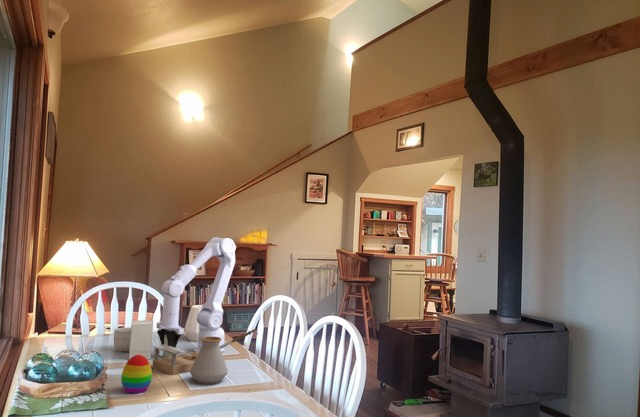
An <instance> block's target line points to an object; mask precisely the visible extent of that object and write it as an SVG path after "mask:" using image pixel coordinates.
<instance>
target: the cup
mask: <svg viewBox="0 0 640 417" xmlns="http://www.w3.org/2000/svg"><path fill="white" fill-rule="evenodd" d="M203 305H204V304H197V305H196V304H195V305H192V306H191V307H190V310H189V313H188V316H187V319H186V323H185V326H184V327H183V328H184V334H185V335H186V337H187V339H188V340H189V341H192V342H199V323H198V322H197V314H198V313H199V312H200V310H201V309H202V306H203Z"/></svg>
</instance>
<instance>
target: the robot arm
mask: <svg viewBox="0 0 640 417" xmlns="http://www.w3.org/2000/svg"><path fill="white" fill-rule="evenodd" d="M236 249H237V246H236V244H235V241H234V240H232V238H230V237H227V238H226V237H225V238H223V237H213V238H211V239H210V241H208V242H207V243H206V244H205V246H204V248H203V249H202V250H201V251H200V252H199V253H198V255H197V256H196V257H195V258H194V259H193V260H192V261H191V262H190V263H189V264H184V265H181V266H180V267H179V270H178V271H177V272H176V273H175V274H174V275H172V276H170V279H168V280H165V281H164V283H163V284H162V286H161V287H160V290H161V293H162V294H163V302H162V305H163V306H162V307H163V308H162V316H161V322H160V321H159V322H156V327H155V328H156V329H160V330H156V333H157V335H158V337H159V340H160V345H164V335H165V334H166V336H167V340H168V346H171V347H174V348H177V345H178V342H179V340H180V338H181V337H182V336H183V335H184V334H185V331H184V328H185V327H182V326H180V325H179V319H180V318H179V317H180V302H181V301H180V300H181V295H183V294H184V290H185V287H186V286H187V285H188V284H189V283H190V282H191V281H192V280H193V279H194V278H195V277H196V276H197V270H199V269H200V268H201V267H202V266H203V265H204V264H205V263H206V262H207V261H208V260H210V258H213V257H216V258H217V259H218V261H219V266H218V269H217V273H216V276H215V279H214V281H213V283H212V288H211V289H210V293H209V296H208V299H207V301H206V302H205V303H203V304H202V305H203V306H202V309H201V310H200V312H199V313H198V314H197V322H198V323H199V341H197V342H198V344H197V345H198V346H197V348H196V349H195V348H194V349H193V350H192V351H193V352H199V351H200V349H201V347H202V341H201V338H202V337H220V338H221V341H220V343H219V346H221V345H223V344H225V330H224V329H223V327H221V326H222V324H223V316H224V309H223V307H222V304H223V300H224V298H225V294H226V291H227V288H228V285H229V282H230V279H231V277H232V276H231V275H232V273H233V270H234V267H235V264H236V253H235V252H236ZM224 348H225V347H223V348H221V349H220V350H221V352H222V353H223V352H225V351H226V350H225V349H224Z"/></svg>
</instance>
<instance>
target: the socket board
mask: <svg viewBox="0 0 640 417" xmlns="http://www.w3.org/2000/svg"><path fill="white" fill-rule="evenodd" d="M153 348H154V359H152V365H151V366H152V367H151V368H153V369H156V370H159V371H161V372H164V373H166V374H169V375H171V376H176V375H180V374H185V373H190V370H191V368H192V366H193V364H194V362H195V360H196V358H197V356H198V354H199V352H195V351H193V352H188V353H186V350H183V349H180V348H177V347H176V348H174V347H171V346H168V345H165V344H164V345H161V344H158V345H154V346H153ZM160 351H162V352H163V351H165V352H167V353H170V354H172V356H170V357H165V358H163V357H160Z"/></svg>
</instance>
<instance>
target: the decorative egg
mask: <svg viewBox="0 0 640 417" xmlns="http://www.w3.org/2000/svg"><path fill="white" fill-rule="evenodd" d="M151 366H152V365H151V364H150V361H149V360H147V359H146V358H145V357H144V356H142V355H135V356H133V357H132V358H130V359H129V358H128V360H127V362H126V363H125V364H124V367H123V369H122V372H121V378H120V380H121V381H120V382H121V387H122V388H123V391H125V392H126V393H129V394H140V393H143V392H145V391H146V390H147V389H148V388H149V386H150V385H151V383H152V379H153V372H152V367H151Z"/></svg>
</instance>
